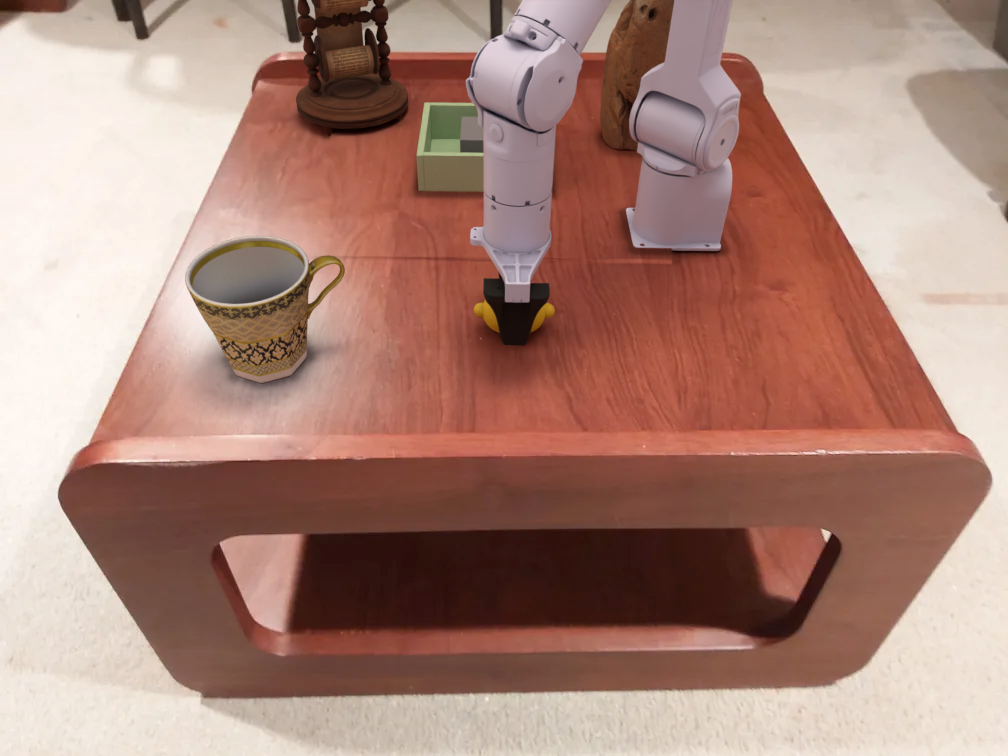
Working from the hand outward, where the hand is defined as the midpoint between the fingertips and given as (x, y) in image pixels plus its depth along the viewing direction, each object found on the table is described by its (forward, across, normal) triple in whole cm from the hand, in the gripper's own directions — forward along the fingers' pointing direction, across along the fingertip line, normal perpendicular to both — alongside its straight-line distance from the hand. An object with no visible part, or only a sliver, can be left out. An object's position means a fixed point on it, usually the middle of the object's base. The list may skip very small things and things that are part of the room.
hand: (513, 316), depth 77 cm
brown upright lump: (+2, -38, +17) cm, 42 cm away
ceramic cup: (+2, +4, -21) cm, 21 cm away
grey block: (+1, -31, -3) cm, 31 cm away
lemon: (+2, 0, 0) cm, 2 cm away
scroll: (+2, -45, -21) cm, 50 cm away
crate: (+1, -31, -3) cm, 31 cm away
